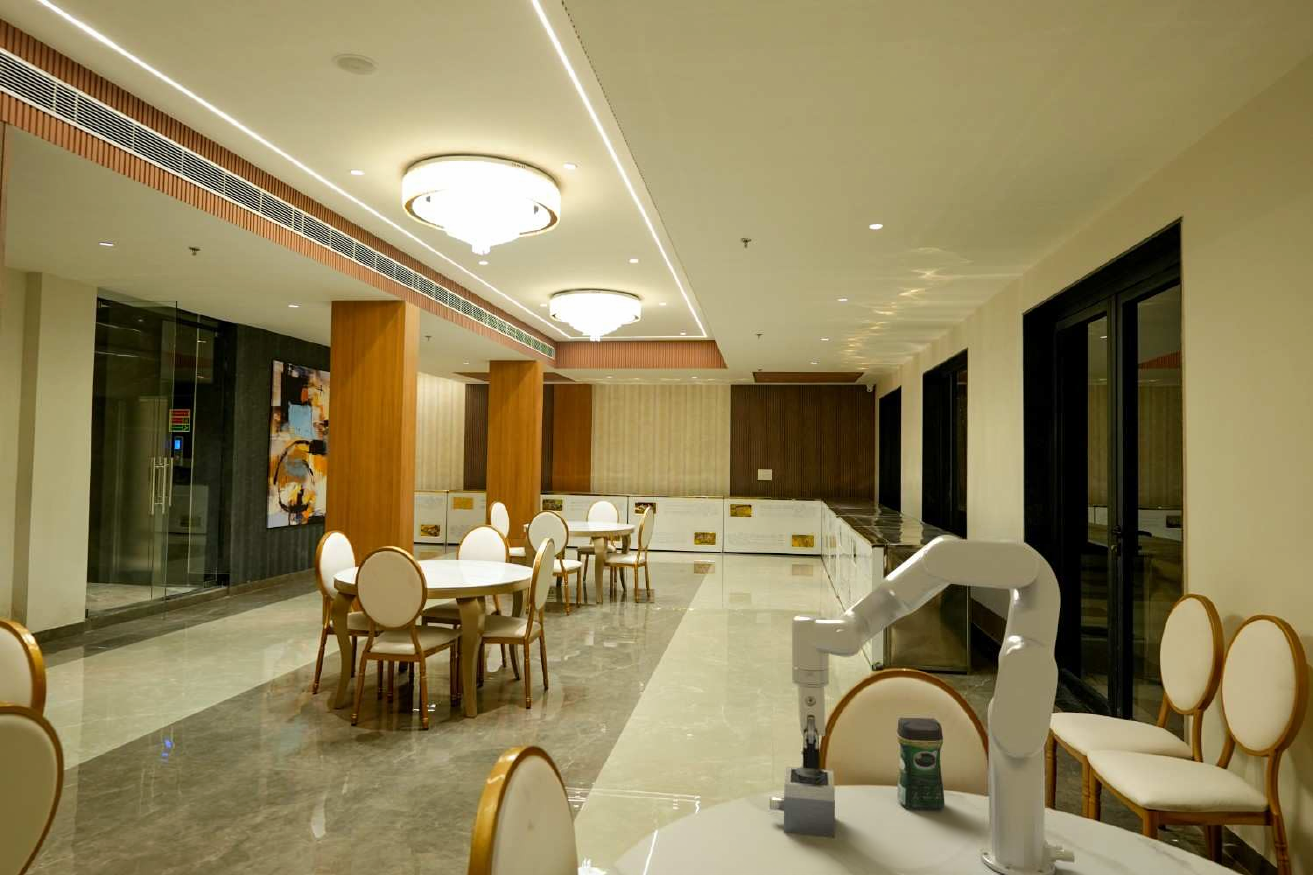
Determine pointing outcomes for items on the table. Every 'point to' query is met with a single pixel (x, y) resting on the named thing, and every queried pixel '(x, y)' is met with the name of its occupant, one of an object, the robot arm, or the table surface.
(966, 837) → the table surface
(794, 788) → the grey open box
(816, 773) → the dark grey turned piece
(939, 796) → the coffee jar
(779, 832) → the table surface
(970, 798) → the table surface
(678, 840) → the table surface
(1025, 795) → the robot arm
